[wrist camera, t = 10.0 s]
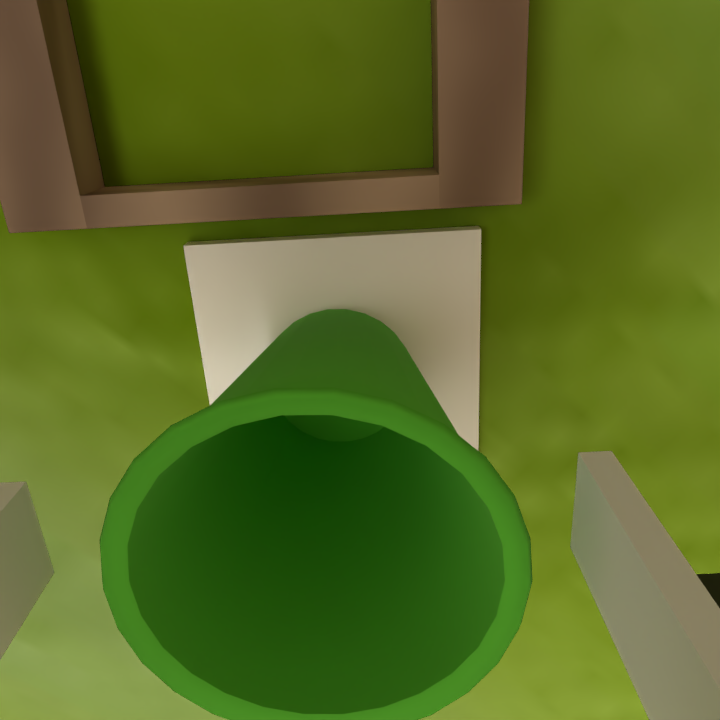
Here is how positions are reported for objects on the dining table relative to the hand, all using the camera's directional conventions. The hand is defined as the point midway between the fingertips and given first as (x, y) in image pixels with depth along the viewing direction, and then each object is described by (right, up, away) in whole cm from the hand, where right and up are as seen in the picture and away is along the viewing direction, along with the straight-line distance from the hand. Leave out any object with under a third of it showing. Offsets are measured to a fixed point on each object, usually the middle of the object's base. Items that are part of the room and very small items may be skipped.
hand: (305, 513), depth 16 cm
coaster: (+1, +3, +9) cm, 9 cm away
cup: (+1, +3, +8) cm, 9 cm away
